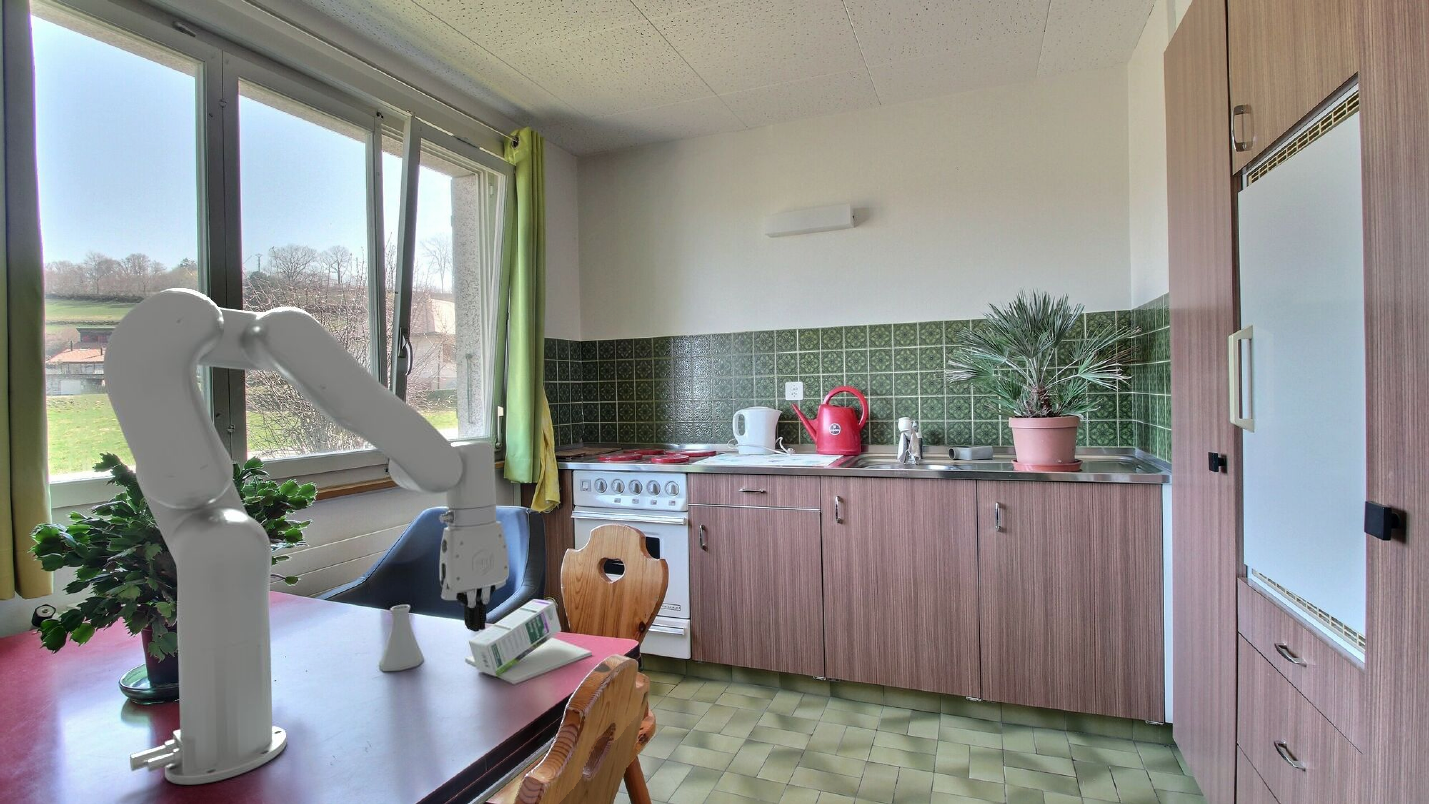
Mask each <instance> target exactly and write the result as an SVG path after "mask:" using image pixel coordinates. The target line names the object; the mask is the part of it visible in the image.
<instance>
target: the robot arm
mask: <svg viewBox="0 0 1429 804" xmlns="http://www.w3.org/2000/svg"><path fill="white" fill-rule="evenodd" d="M102 366H103V367H102V370H103V371H102V372H103V374H102V375H103V380H104V386H105V390H106V393H107V396H108V399H109V402H110V404H111V407H112V410H113V412H114V414H115V417H116V419H117V421H118V423H119V426H120V430H121V432H122V434H123V437H124V439H125V441H126V444H127V445H128V449H129V450H130V453H131V455H132V458H133V460H134V462H135V477H136V481H137V485H138V486H139V488H140V491H141V493H142V495H143V498H144V500H145V502H146V504H147V506H148V508H149V510H150V512H151V515H152V518H153V519H154V522H155V523H156V526H157V527H158V530H159V532H160V534H161V536H162V538H163V540H164V542H165V544H166V546H167V548H168V551H169V553H170V554H171V557H172V559H173V561H174V563H175V567H176V580H177V581H176V582H177V586H176V587H177V594H176V595H177V599H176V600H177V602H176V610H177V611H176V614H177V615H176V618H177V619H176V620H177V623H176V626H177V627H176V631H177V633H176V635H177V650H178V652H177V653H178V654H177V656H178V658H177V659H178V690H179V693H178V694H179V696H178V697H179V729H177V730H174V731H173V732H172V733H173V734H172V735H173V737H172V739H169V740H166V741H164V742H163V745H160V746H157V747H153V748H151V749H150V748H148V749H144V750H142V751H139V752H136V753H132V754H130V756H129V763H130V770H131V772H134V771H138V770H140V769H143V768H147V772H148V773H150V772H153V771H157V770H159V769H162V768H163V767H164V777H165V779H166V780H167V781H169V782H171V783H173V784H177V785H187V786H188V785H202V784H207V783H214V782H218V781H222V780H226V779H229V778H232V777H236V776H239V775H242V774H244V773H247V772H249V771H251V770H254V769H256V768H260V766H262V765H264V764H266V763H267V762H269V761H271V760H272V759H274V758H275V757H277V756H278V755H279V754H280V753H281V752H283V750H284V749H285V747H286V746H287V743H288V742H287V740H288V739H287V738H288V737H287V736H288V735H287V733H286V730H284V729H283V728H281V727H279V726H273V700H272V699H273V698H272V697H273V696H272V695H273V694H272V691H273V690H272V688H273V687H272V655H271V654H272V653H271V651H272V650H271V649H272V647H271V627H270V626H271V623H270V592H271V591H270V589H271V588H270V587H271V585H270V584H271V573H272V564H273V563H272V562H273V561H272V557H273V555H272V546H271V541H270V537H269V536H268V533H267V532H266V530H265V528H264V527H263V526H262V524H261V523H260V522H258V521H257V519H255V518H254V517H251V516H249V515H248V512H247V510H246V509H245V505H244V503H243V502H242V501H243V500H242V499H241V497H240V493H239V492H238V489H237V487H236V485H235V483H234V482H235V481H234V480H233V477H234V466H233V465H234V464H233V460H232V458H231V456H230V454H229V452H228V451H227V448H225V446H224V444H223V442H222V439H221V438H220V436H219V433H218V431H217V428H216V427H215V425H214V422H213V420H212V418H211V416H210V413H209V411H208V408H207V405H206V403H205V399H204V397H203V395H202V392H201V389H200V387H199V382H198V375H197V369H198V366H202V367H213V368H225V369H234V370H247V371H262V372H263V371H265V372H276V373H277V374H278V375H279V376H280V377H281V378H282V379H283V380H285V381H286V383H288V384H290V386H291V387H292V388H294V390H296V391H297V393H299V394H300V395H301V396H302V397H303V398H305V400H307V402H309V403H310V405H311V406H313V408H314V409H316V410H317V411H318V412H319V413H320V414H321V415H322V416H323V417H324V418H325V419H327V420H328V421H329V422H331V423H332V424H334V425H335V426H337V428H340V429H342V430H343V431H346V432H348V433H350V434H352V435H355V436H357V437H358V438H361V439H362V440H364V441H366V442H367V443H369V444H370V445H371V446H373V447H375V449H376V450H379V452H381V453H382V454H384V456H386V457H387V458H388V459H389V460H388V472H389V475H390V479H392V481H393V482H394V483H395V484H396V485H397V486H399V487H400V488H403V489H405V490H409V491H413V492H417V493H418V492H419V493H425V494H427V495H428V494H429V495H440V494H443V493H446V508H445V513H443V514H442V513H441V514H439V516H438V517H439V522H440V523H441V524H443V523H445V524H446V527H444V529H443V532H442V537H441V544H440V552H439V553H440V554H439V581H440V582H439V584H440V587H441V588H442V589H441V594H440V597H441V599H442V600H444V601H457V602H458V603H460V605H462V606H463V612H464V614H463V615H464V616H463V617H464V625H465V626H466V627H465V628H466V629H467V630H469V631H472V632H475V633H476V632H477V633H478V632H479V631H484V630H486V622H487V605H488V603H489V602H490V598H491V596H492V595H493V594H494V593H495V591H496V590H499V589H500V588H503V587H504V586H505V585H506V584H507V582H506V580H508V578H509V576H510V565H509V564H510V563H509V562H510V561H509V553H508V546H507V541H506V535H505V534H506V533H505V531H504V527H503V523H502V522H501V521H499V520H497V502H496V501H497V500H496V499H497V498H496V470H495V469H496V468H495V449H494V446H493V444H492V443H491V442H489V441H487V440H465V441H463V440H462V441H455V442H452V443H450V441H449V440H447V439H446V437H445V436H444V435H442V434H441V433H440V431H439V430H437V428H436V427H435V426H434V425H433V424H432V423H430V421H428V420H427V419H426V418H425V417H424V416H423V415H422V414H420V412H418V411H417V410H416V409H414V408H413V407H412V406H410V405H409V404H408V403H406V402H405V401H404V400H403V399H401V398H400V397H399V396H397V395H396V394H395V393H394V392H393V391H392V390H391V389H389V388H388V387H386V386H385V385H383V384H382V383H381V382H379V380H377V378H375V377H374V376H373V375H372V374H371V373H370V372H369V370H367V369H366V368H365V367H364V366H363V365H362V364H361V363H360V362H359V361H358V360H357V359H356V358H355V357H354V356H353V355H352V354H351V353H350V352H349V350H348V349H346V348H345V347H344V346H343V345H342V344H341V343H340V342H339V340H337V339H336V338H335V337H334V335H332V334H331V333H330V332H329V331H328V329H326V328H325V327H324V325H322V324H321V323H320V322H319V320H317V319H316V318H315V317H314V316H312V314H310V313H308V312H307V311H305V310H303V309H302V308H301V309H300V308H297V307H291V306H281V307H277V308H273V309H270V310H267V311H266V312H258V311H256V312H255V311H246V310H238V309H231V308H223V307H218V306H217V304H216V303H215V302H214V301H213V300H211V298H210V297H207V295H205V294H204V293H203V294H202V293H200V292H198V291H195V290H193V289H188V288H168V289H165V290H160V291H157V292H156V293H153V294H152V295H149V296H148V297H146V298H144V299H143V300H141V301H140V302H139V303H138V304H136V305H135V306H134V307H133V308H132V309H130V310H129V311H128V312H127V313H126V314H125V315H124V316H123V317H122V318H121V319H120V320H119V322H118V323H117V325H116V326H115V327H114V328H113V330H112V332H111V334H110V336H109V339H108V341H107V344H106V348H105V350H104V355H103V364H102Z"/></svg>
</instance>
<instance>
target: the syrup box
mask: <svg viewBox="0 0 1429 804" xmlns="http://www.w3.org/2000/svg"><path fill="white" fill-rule="evenodd" d="M561 631H562V627H561V623H560V620H559V616H558V613H557V609H556V606H555V603H554V602H553V601H550V600H545V599H537V598H536V599H535V598H533V599H531V600H530V601H528V602H526V603H525V604H523V605H522V606H521V607H519V608H517V609H515V610H514V611H513V612H511V613H510V614H508V615H506V616H504V617H503V618H502V619H500V620H499V621H497V622H496V623H494V624H492V625H490V626H489V627H487V628H485V629H484V630H482V631H480V633H478V634H477V635H475V636H473V637H472V638H470V639H469V640H468V644H469V647H470V650H471V654H472V656H473V657H474V661H475V664H476V666H475V668H476V670H477V671H478V672H479V671H480V672H482V673H484V674H487V675H490V676H492V677H497V676H498V675H500V674H501V673H502V672H504V671H505V670H507V669H508V668H510V667H511V666H512V665H514V664H515V663H517V662H518V661H519V660H521V659H522V658H524V657H525V656H526V655H528V654H529V653H531V652H532V651H534V650H535V649H536V648H538V647H539V646H541V645H542V644H543V643H545V642H546V641H548V640H549V639H551V638H554V637H555V636H556V635H557V634H559V633H560V632H561Z"/></svg>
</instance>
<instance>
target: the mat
mask: <svg viewBox="0 0 1429 804" xmlns="http://www.w3.org/2000/svg"><path fill="white" fill-rule="evenodd" d="M589 656H592V651H591V650H588V649H586V648H583V647H580V646H577V645H575V644H572V643H568V642H566V641H563V640H560V639H558V638H554V637H552V638H551V639H549V640H548V641H546V642H545V643H543V644H542V645H541V646H539V647H538V648H536V649H535V650H534V651H532V652H531V653H529V654H528V655H526V656H525V657H524V658H522V659H521V660H519V661H518V662H517V663H515V664H514V665H512V666H511V667H510V668H508V669H507V670H505V671H504V672H502V673H501V674H500V675H498V676H496V677H497V678H500V679H501V680H503V681H505V682H508V683H509V684H513V685H517V684H519V683H521V682H524V681H527V680H529V679H532V678H534V677H537V676H541V675H542V674H545V673H548V672H550V671H553V670H556V669H558V668H561V667H564V666H567V665H569V664H571V663H574V662H577V661H579V660H581V659H584V658H587V657H589ZM464 659H465V661H464V662H466V663H467V664H469V665H471V666H474V667H476V664H475V661H474V657H473V655H470V656H467V657H465V658H464Z"/></svg>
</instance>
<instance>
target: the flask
mask: <svg viewBox="0 0 1429 804" xmlns="http://www.w3.org/2000/svg"><path fill="white" fill-rule="evenodd" d="M410 610H411V605H410V604H399V605H395V606H392V607H391V608H390V609H389V611H390V612H391V626H390V632H389V634H388V638H387V641H386V644H385V647H384V650H383V652H382V655H381V658H380V662H379V665H378V667H379V668H380V670H381V671H382V672H396V671H397V672H398V671H404V670H407V669H411V668H415V667H418V666H419V665H420V664H422V662H423V661H425V657H424V654H423V653H422V650H421V648H420V646H419V644H418V642H417V639H416V636H415V634H414V631H413V629H412V626H411V622H410V612H409V611H410Z"/></svg>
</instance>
